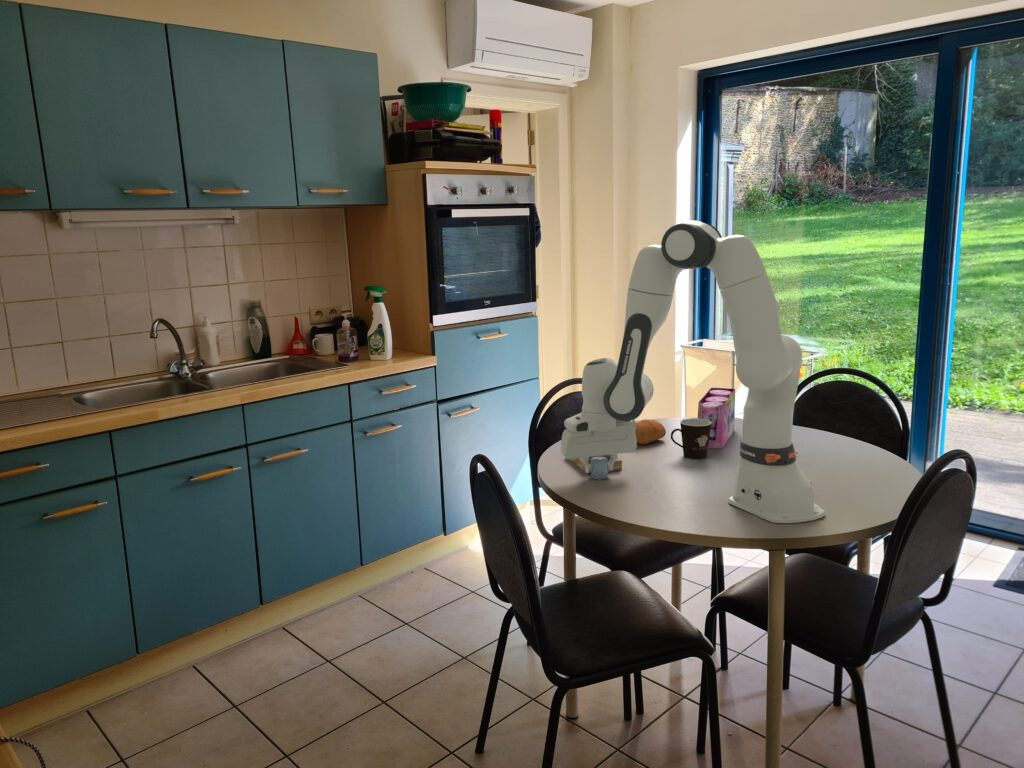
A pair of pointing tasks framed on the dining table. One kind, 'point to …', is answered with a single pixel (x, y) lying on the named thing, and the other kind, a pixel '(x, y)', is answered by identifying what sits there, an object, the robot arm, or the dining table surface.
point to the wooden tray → (579, 462)
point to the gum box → (718, 414)
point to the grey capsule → (599, 468)
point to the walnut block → (600, 456)
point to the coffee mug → (694, 437)
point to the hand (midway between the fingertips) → (599, 471)
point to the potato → (649, 431)
